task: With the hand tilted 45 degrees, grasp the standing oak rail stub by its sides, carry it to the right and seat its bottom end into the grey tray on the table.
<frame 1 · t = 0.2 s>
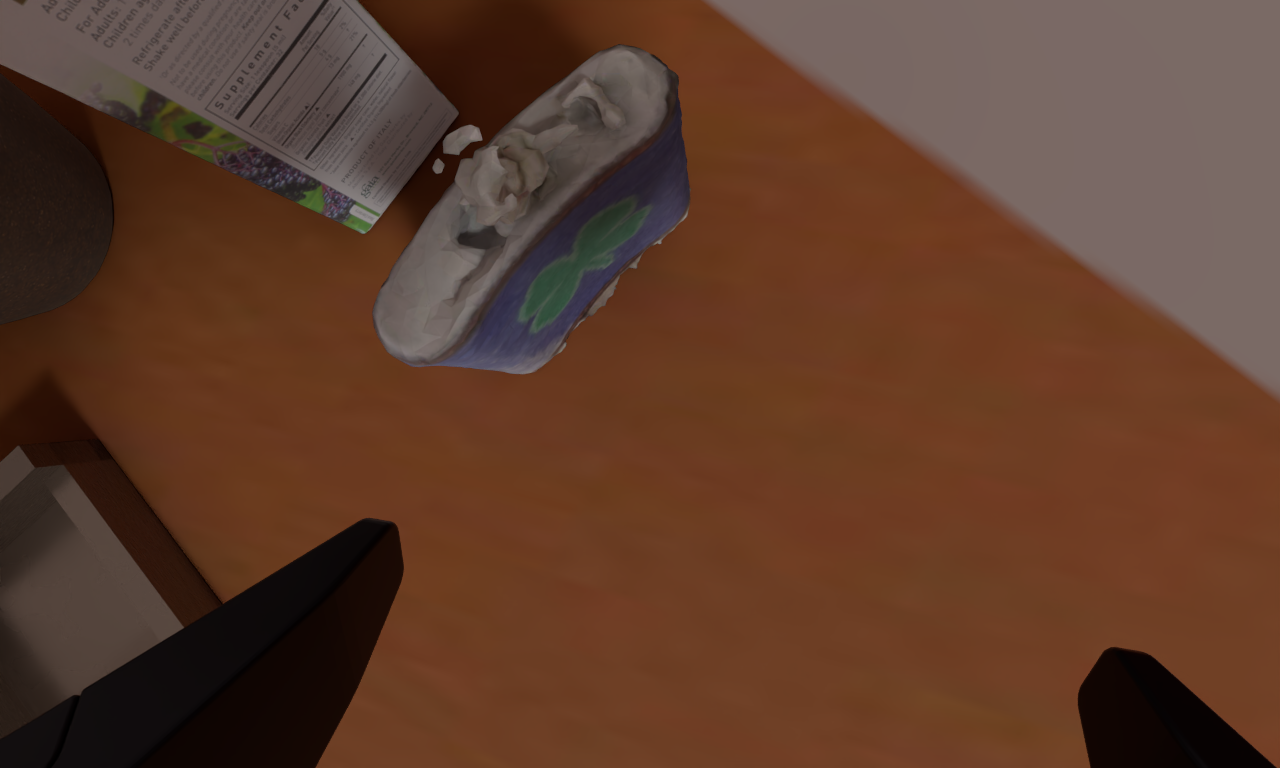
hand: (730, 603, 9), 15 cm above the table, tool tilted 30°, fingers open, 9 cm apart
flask: (590, 268, 24), on the table
syrup box: (365, 128, 25), on the table
grey tray: (84, 613, 26), on the table
plant pot: (34, 224, 27), on the table
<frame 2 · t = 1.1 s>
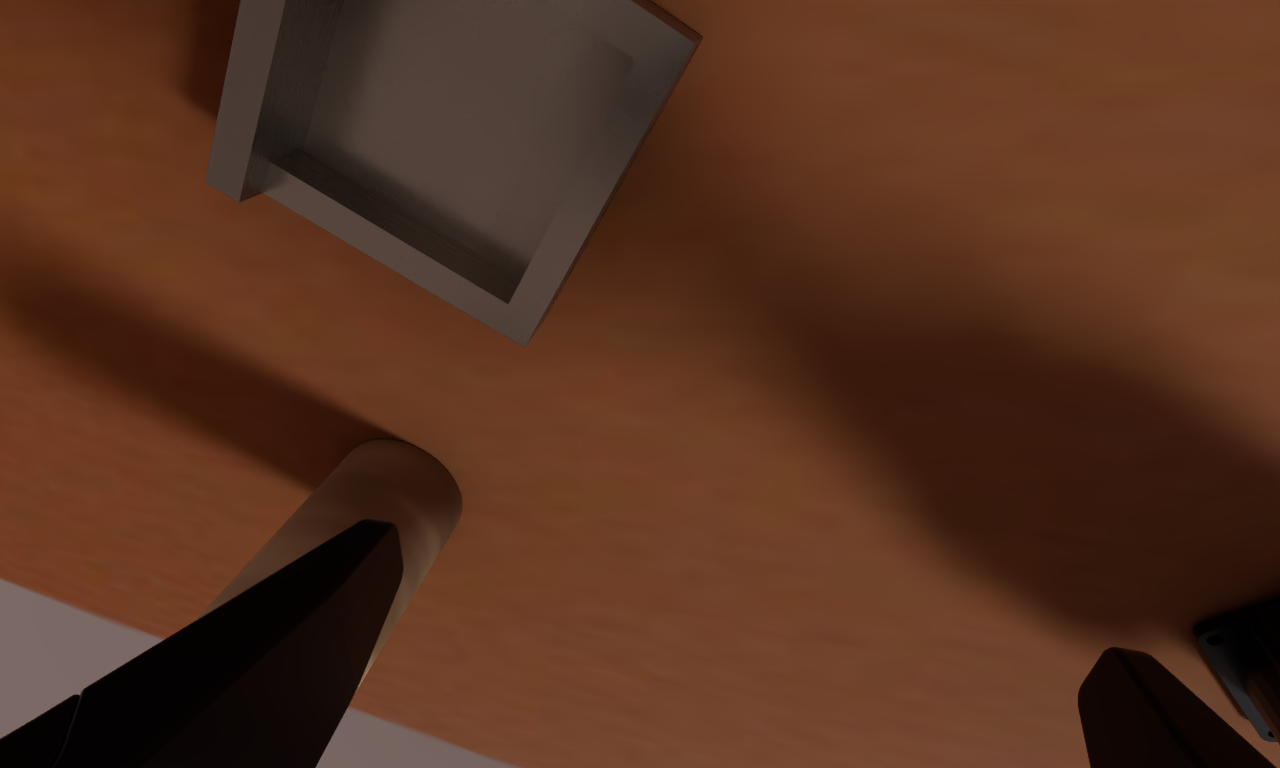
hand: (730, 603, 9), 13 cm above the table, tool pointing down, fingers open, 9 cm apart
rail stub: (402, 491, 27), on the table
grey tray: (468, 103, 19), on the table
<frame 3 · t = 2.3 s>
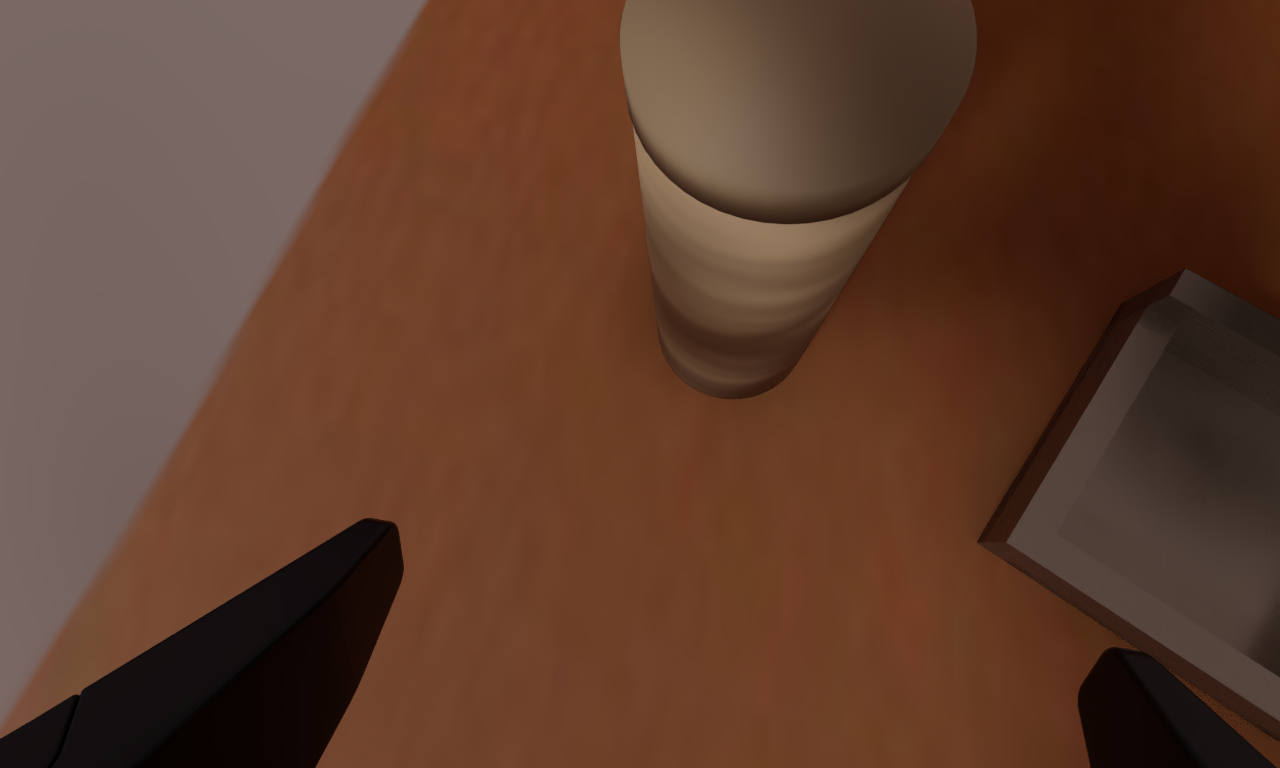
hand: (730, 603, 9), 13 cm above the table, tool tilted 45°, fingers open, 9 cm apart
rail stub: (731, 327, 24), on the table
grey tray: (1193, 505, 21), on the table
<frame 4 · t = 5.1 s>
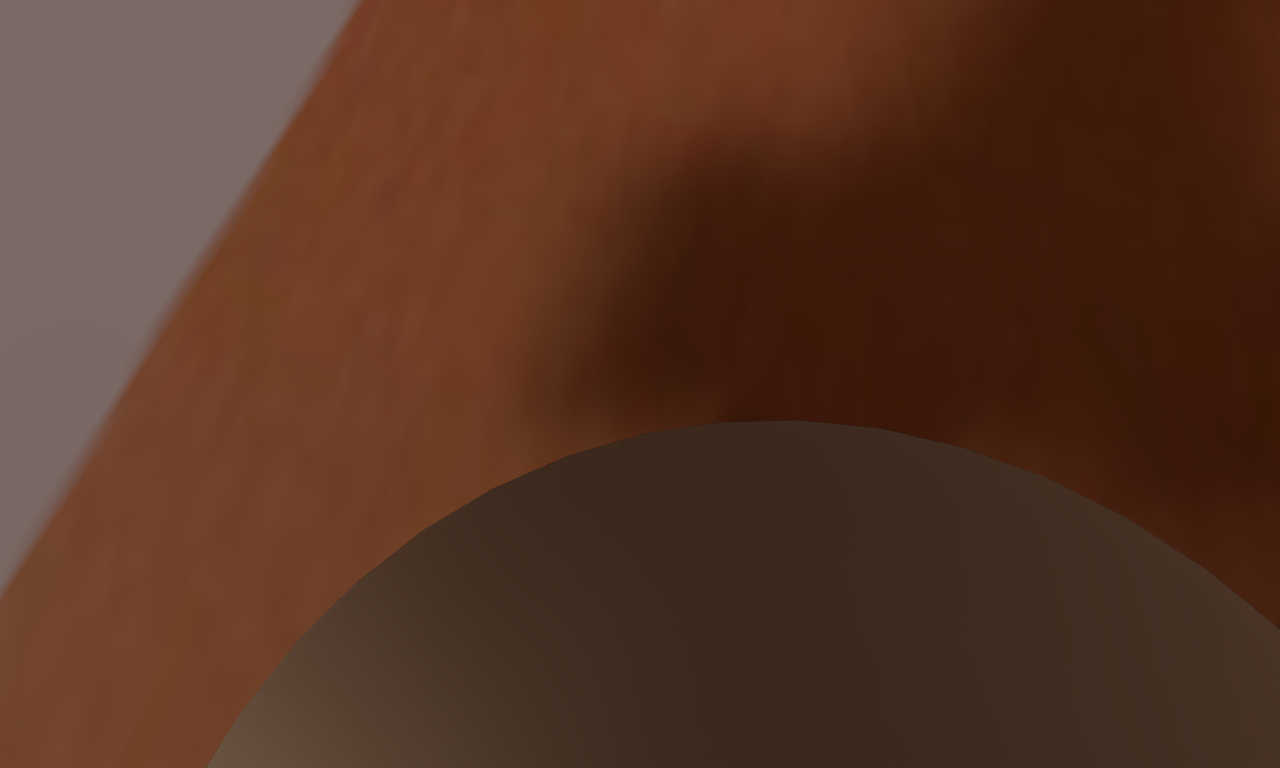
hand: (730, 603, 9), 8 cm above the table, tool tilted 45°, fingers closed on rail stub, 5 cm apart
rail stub: (699, 641, 16), on the table, touching gripper
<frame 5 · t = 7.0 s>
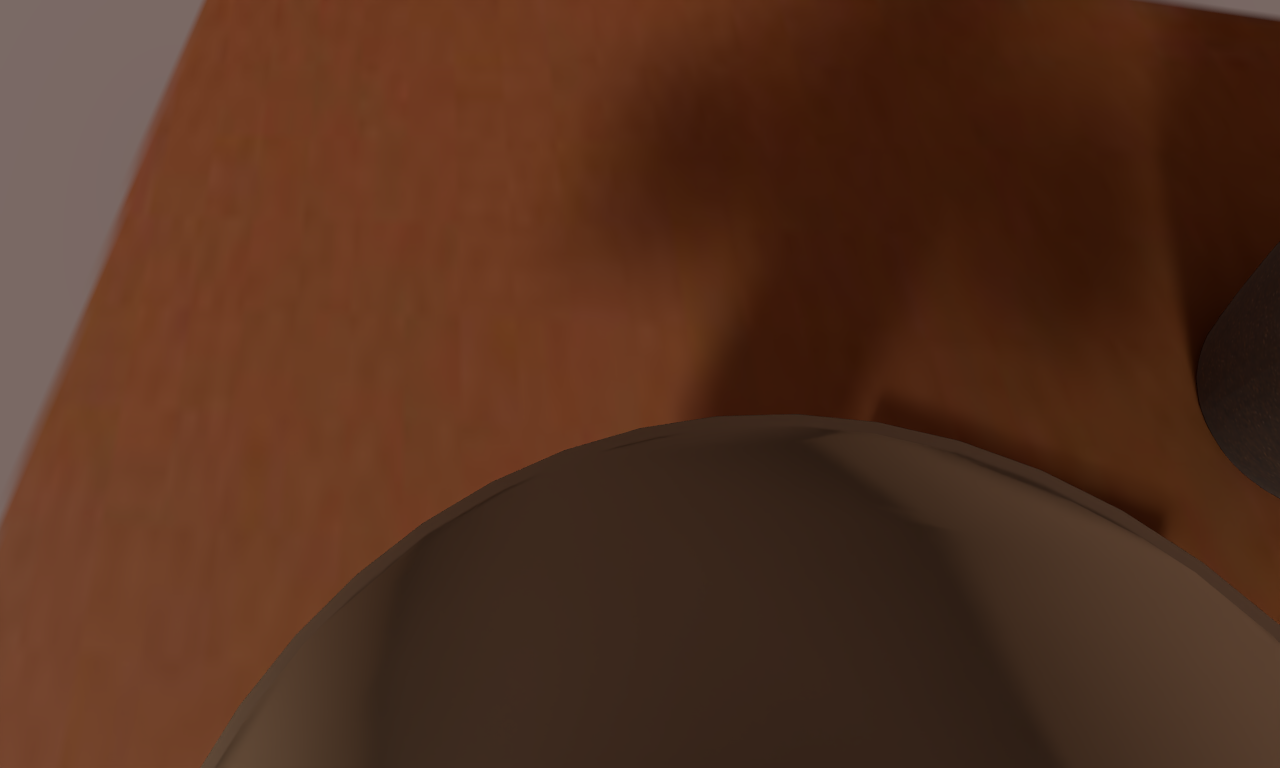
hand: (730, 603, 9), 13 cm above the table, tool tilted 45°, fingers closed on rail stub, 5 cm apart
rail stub: (699, 640, 16), point 6 cm above the table, touching gripper
when the fingers open (9 cm above the table, at t = 9.3 s): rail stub drops 1 cm, resting on grey tray.
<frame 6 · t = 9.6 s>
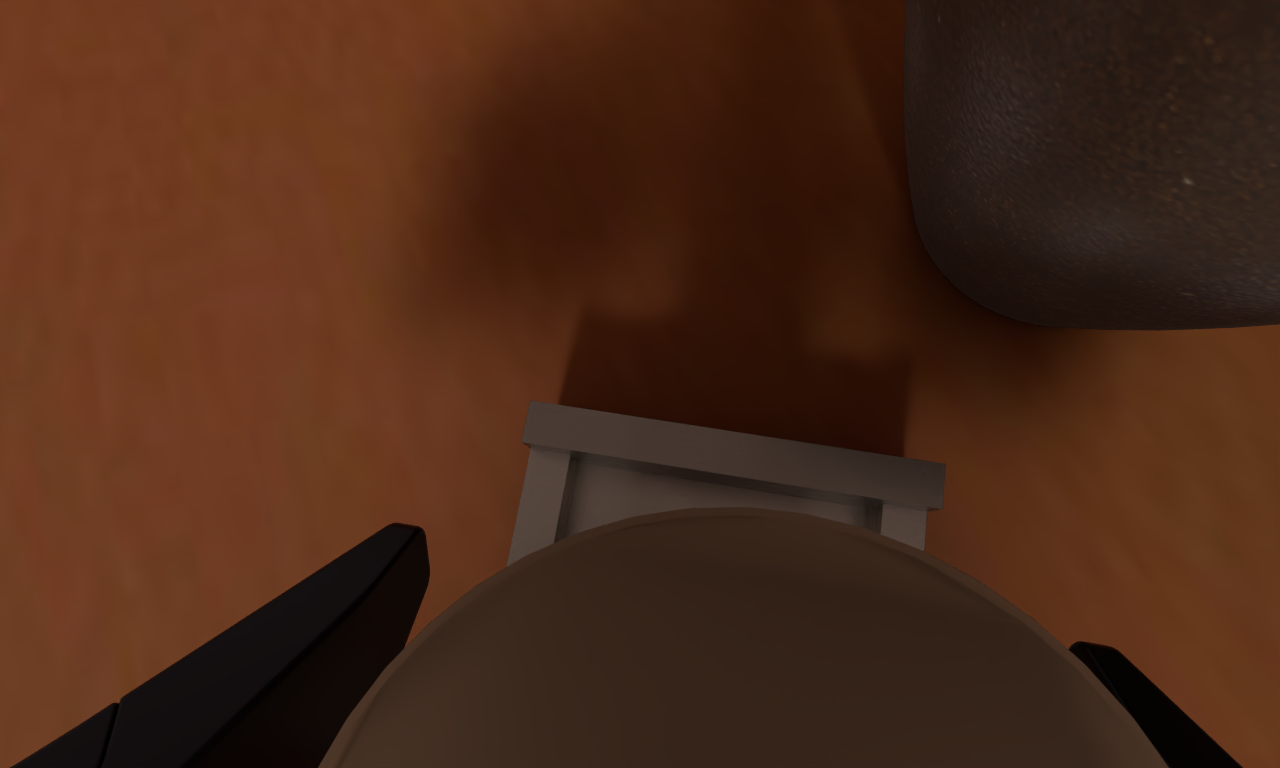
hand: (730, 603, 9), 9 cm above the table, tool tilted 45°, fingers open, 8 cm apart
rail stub: (698, 638, 17), point 1 cm above the table, touching grey tray
grey tray: (698, 632, 18), on the table
plant pot: (1032, 208, 20), on the table
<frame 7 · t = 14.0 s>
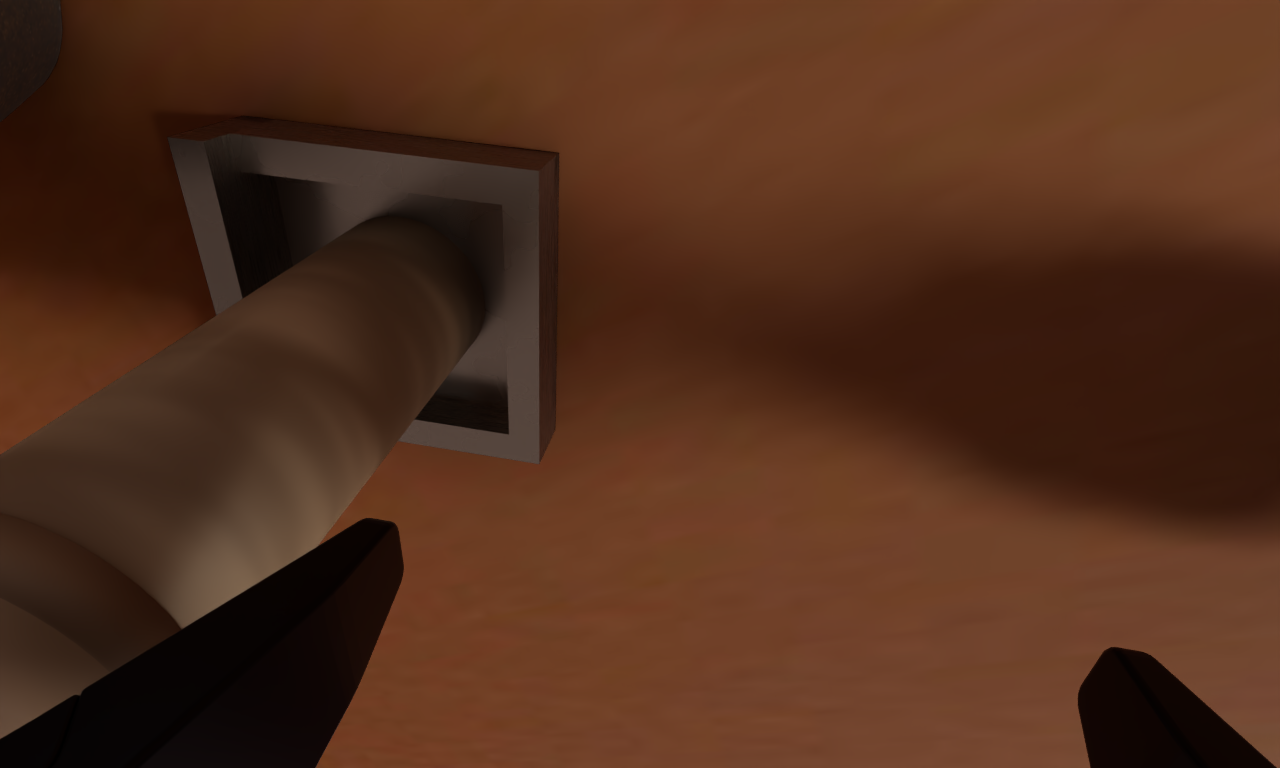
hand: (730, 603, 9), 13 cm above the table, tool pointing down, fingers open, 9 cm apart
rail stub: (408, 293, 22), point 1 cm above the table, touching grey tray
grey tray: (413, 287, 22), on the table
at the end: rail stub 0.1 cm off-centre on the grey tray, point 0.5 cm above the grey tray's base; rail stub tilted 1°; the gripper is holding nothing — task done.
